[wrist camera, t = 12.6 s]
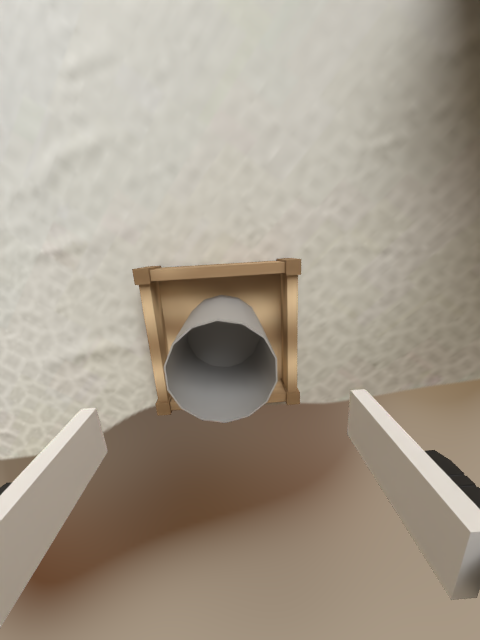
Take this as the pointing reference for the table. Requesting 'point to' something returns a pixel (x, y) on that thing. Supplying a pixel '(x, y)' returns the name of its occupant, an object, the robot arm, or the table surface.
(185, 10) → the table surface
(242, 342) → the cup
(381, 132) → the table surface
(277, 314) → the crate
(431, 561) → the robot arm
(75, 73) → the table surface
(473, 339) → the table surface
